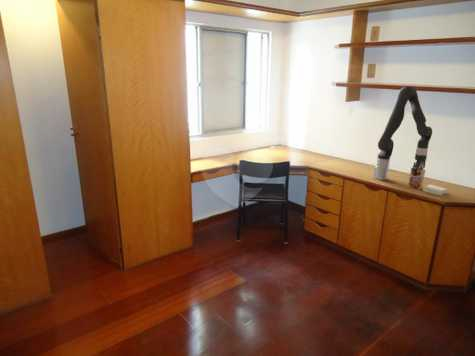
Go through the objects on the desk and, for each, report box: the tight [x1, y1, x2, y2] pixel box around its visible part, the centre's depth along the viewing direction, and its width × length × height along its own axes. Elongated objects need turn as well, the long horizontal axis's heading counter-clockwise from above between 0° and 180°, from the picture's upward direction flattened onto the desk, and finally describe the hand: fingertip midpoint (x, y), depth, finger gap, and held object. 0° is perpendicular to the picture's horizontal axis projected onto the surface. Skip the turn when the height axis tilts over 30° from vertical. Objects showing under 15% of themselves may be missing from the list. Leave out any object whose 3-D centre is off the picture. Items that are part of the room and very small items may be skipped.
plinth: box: [422, 184, 447, 196], centre depth 250 cm, size 12×10×3 cm
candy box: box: [407, 166, 426, 191], centre depth 256 cm, size 9×4×15 cm, turn 35°
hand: (417, 174), depth 255 cm, fingers open, 8 cm apart
